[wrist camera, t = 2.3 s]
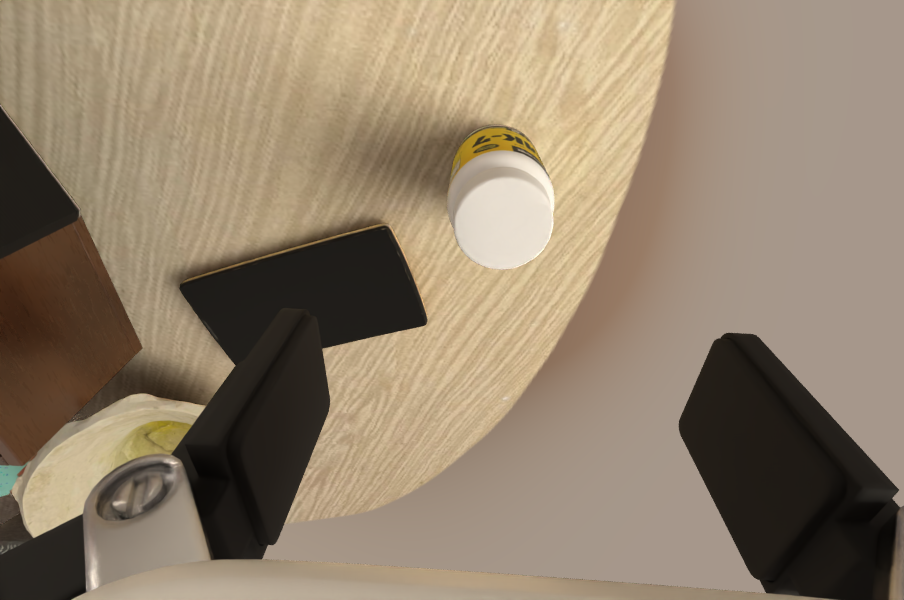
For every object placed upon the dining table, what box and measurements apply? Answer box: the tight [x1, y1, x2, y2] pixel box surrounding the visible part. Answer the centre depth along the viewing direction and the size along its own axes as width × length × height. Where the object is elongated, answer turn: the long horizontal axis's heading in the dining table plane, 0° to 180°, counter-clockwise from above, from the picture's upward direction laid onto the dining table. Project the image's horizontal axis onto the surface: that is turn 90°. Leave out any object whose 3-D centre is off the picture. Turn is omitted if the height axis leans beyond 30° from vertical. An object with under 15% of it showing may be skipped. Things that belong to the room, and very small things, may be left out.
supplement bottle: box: [447, 125, 555, 270], centre depth 21 cm, size 5×5×8 cm
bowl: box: [11, 393, 207, 538], centre depth 32 cm, size 15×14×10 cm
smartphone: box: [180, 223, 428, 365], centre depth 29 cm, size 7×1×15 cm
